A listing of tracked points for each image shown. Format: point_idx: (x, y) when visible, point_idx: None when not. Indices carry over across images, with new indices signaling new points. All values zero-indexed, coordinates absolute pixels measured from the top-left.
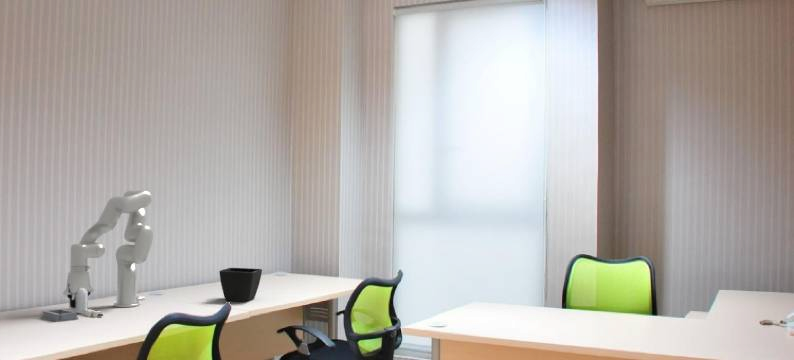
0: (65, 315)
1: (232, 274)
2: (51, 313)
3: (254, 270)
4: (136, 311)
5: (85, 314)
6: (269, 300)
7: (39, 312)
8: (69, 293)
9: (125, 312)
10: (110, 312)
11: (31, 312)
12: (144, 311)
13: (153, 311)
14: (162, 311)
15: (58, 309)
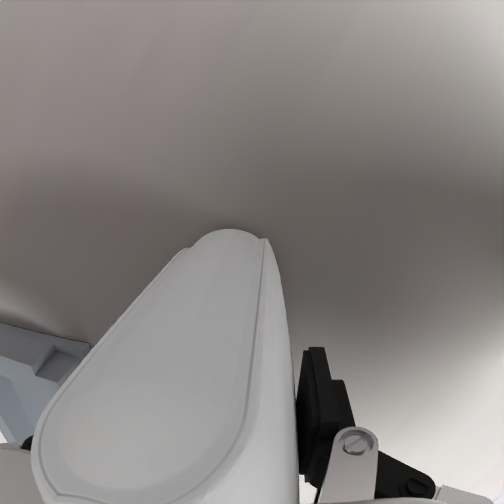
0: None
1: None
2: (4, 436)
3: None
4: (477, 466)
5: None
6: None
7: (24, 57)
8: (63, 393)
9: (438, 472)
10: (407, 447)
11: (3, 30)
12: (484, 474)
13: (490, 482)
14: (495, 489)
15: (30, 380)
